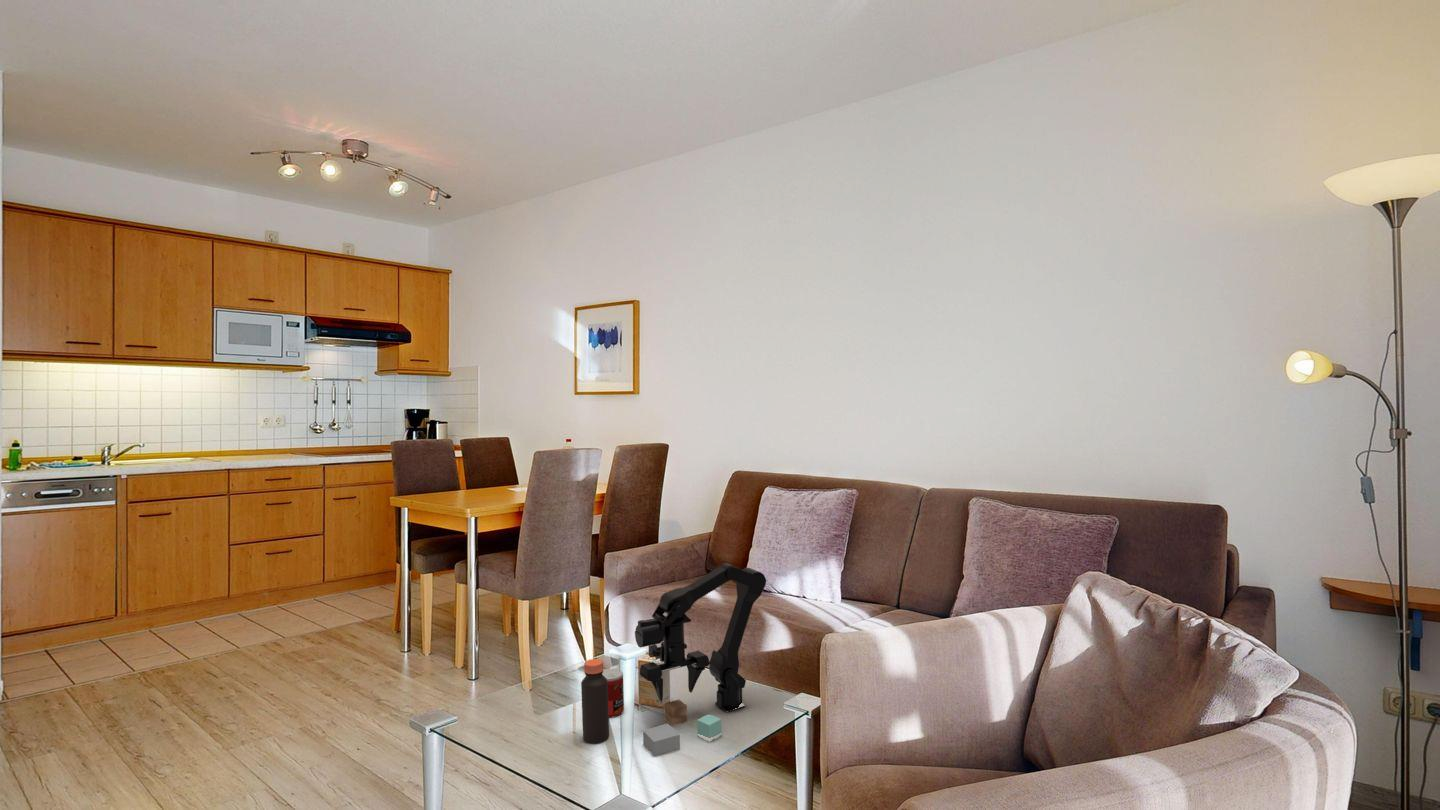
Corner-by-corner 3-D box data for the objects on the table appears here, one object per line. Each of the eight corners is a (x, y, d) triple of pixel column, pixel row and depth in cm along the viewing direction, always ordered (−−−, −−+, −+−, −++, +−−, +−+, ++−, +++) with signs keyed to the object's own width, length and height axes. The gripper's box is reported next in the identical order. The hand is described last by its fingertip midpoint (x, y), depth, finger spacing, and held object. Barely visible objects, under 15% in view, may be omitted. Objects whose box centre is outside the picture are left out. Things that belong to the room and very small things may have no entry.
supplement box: (637, 704, 214) (636, 659, 213) (645, 697, 218) (644, 653, 218) (663, 708, 211) (662, 663, 210) (671, 701, 215) (669, 657, 215)
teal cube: (709, 730, 197) (709, 714, 197) (721, 736, 194) (721, 719, 194) (697, 737, 194) (696, 720, 194) (709, 742, 191) (709, 725, 190)
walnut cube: (679, 715, 206) (678, 699, 206) (687, 721, 203) (686, 705, 202) (664, 719, 204) (664, 703, 204) (672, 725, 200) (672, 709, 200)
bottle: (587, 746, 190) (585, 669, 189) (579, 735, 196) (577, 660, 195) (612, 740, 193) (610, 664, 192) (604, 729, 199) (602, 655, 198)
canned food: (618, 719, 205) (617, 679, 204) (591, 717, 206) (590, 678, 206) (627, 706, 212) (626, 669, 212) (601, 705, 214) (600, 667, 213)
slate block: (668, 738, 194) (667, 723, 193) (680, 750, 187) (679, 734, 187) (643, 745, 190) (642, 730, 190) (654, 757, 184) (654, 741, 184)
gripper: (689, 625, 214) (691, 678, 215) (630, 638, 205) (632, 694, 205) (709, 635, 205) (710, 691, 205) (647, 650, 195) (649, 709, 196)
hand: (675, 696), depth 203 cm, fingers open, 9 cm apart
